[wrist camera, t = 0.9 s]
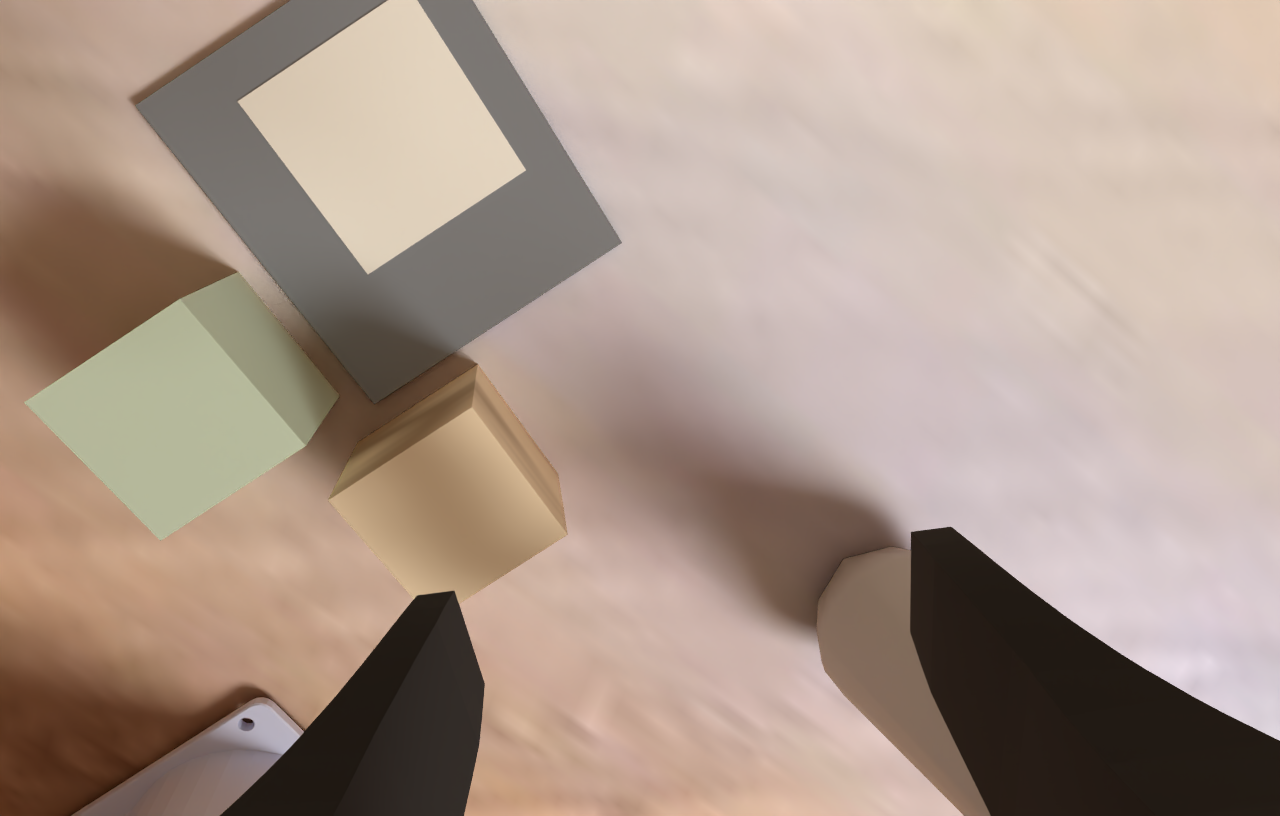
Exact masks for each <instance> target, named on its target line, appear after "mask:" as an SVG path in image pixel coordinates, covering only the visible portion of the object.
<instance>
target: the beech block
mask: <svg viewBox="0 0 1280 816" xmlns="http://www.w3.org/2000/svg"><path fill="white" fill-rule="evenodd" d="M328 501H329V502H330V503H331V505H332V506H333V507H334V508H335V509H336V510H337V511H338V513H339V514H340V515H341V516H342V517H343V518H344V519H345V521H346V522H347V523H348V524H349V525H350V526H351V528H352V529H353V530H354V531H355V532H356V533H357V534H358V536H359V537H360V538H361V539H362V540H363V541H364V542H365V544H366V545H367V546H368V547H369V548H370V549H371V551H372V552H373V553H374V554H375V555H376V556H377V557H378V559H379V560H380V561H381V562H382V563H383V564H384V565H385V567H386V568H387V569H388V570H389V571H390V572H391V574H392V575H393V576H394V577H395V578H396V579H397V580H398V582H399V583H400V584H401V585H402V586H403V587H404V588H405V590H406V591H407V592H408V593H409V594H410V595H411V597H412V598H413V599H415V597H416V596H417V595H423V594H431V593H439V592H447V591H455V594H456V597H457V600H458V603H459V604H460V603H461V602H463V601H464V600H466V599H468V598H469V597H471V596H472V595H474V594H475V593H477V592H479V591H480V590H482V589H483V588H485V587H486V586H488V585H489V584H491V583H493V582H494V581H496V580H497V579H499V578H500V577H502V576H504V575H505V574H507V573H508V572H510V571H511V570H513V569H515V568H516V567H518V566H519V565H521V564H522V563H524V562H525V561H527V560H529V559H530V558H532V557H533V556H535V555H536V554H538V553H540V552H541V551H543V550H544V549H546V548H547V547H549V546H551V545H552V544H554V543H555V542H557V541H558V540H560V539H561V538H563V537H565V536H566V535H568V534H567V527H566V521H565V515H564V508H563V502H562V496H561V489H560V483H559V476H558V473H557V472H556V471H555V469H554V468H553V466H552V465H551V464H550V462H549V461H548V460H547V458H546V457H545V456H544V454H543V453H542V451H541V450H540V449H539V447H538V446H537V445H536V443H535V442H534V440H533V439H532V438H531V436H530V435H529V434H528V432H527V431H526V430H525V428H524V427H523V425H522V424H521V423H520V421H519V420H518V419H517V417H516V416H515V414H514V413H513V412H512V410H511V409H510V408H509V406H508V405H507V404H506V402H505V401H504V399H503V398H502V397H501V395H500V394H499V393H498V391H497V390H496V388H495V387H494V386H493V384H492V383H491V382H490V380H489V379H488V378H487V376H486V375H485V373H484V372H483V371H482V369H481V368H480V367H479V365H478V364H477V365H476V366H474V367H473V368H471V369H470V370H468V371H467V372H465V373H463V374H462V375H460V376H459V377H457V378H456V379H454V380H453V381H451V382H450V383H448V384H447V385H445V386H443V387H442V388H440V389H439V390H437V391H436V392H434V393H433V394H431V395H430V396H428V397H427V398H425V399H423V400H422V401H420V402H419V403H417V404H416V405H414V406H413V407H411V408H410V409H408V410H407V411H405V412H404V413H402V414H400V415H399V416H397V417H396V418H394V419H393V420H391V421H390V422H388V423H387V424H385V425H384V426H382V427H380V428H379V429H377V430H376V431H374V432H373V433H371V434H370V435H368V436H367V437H365V438H364V439H362V440H360V441H359V442H357V444H356V446H355V448H354V450H353V452H352V454H351V456H350V458H349V460H348V462H347V464H346V466H345V468H344V470H343V472H342V474H341V476H340V478H339V480H338V482H337V484H336V486H335V488H334V490H333V492H332V494H331V495H330V497H329V499H328Z"/></svg>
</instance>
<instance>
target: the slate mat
mask: <svg viewBox="0 0 1280 816" xmlns="http://www.w3.org/2000/svg"><path fill="white" fill-rule="evenodd" d="M135 106H136V107H137V109H138V110H139V111H140V112H141V114H142V115H143V116H144V117H145V119H146V120H147V121H148V122H149V124H150V125H151V126H152V127H153V129H154V130H155V131H156V132H157V134H158V135H159V136H160V137H161V139H162V140H163V141H164V142H165V144H166V145H167V146H168V147H169V149H170V150H171V151H172V152H173V154H174V155H175V156H176V157H177V159H178V160H179V161H180V162H181V164H182V165H183V166H184V167H185V169H186V170H187V171H188V172H189V174H190V175H191V176H192V177H193V179H194V180H195V181H196V182H197V184H198V185H199V186H200V187H201V189H202V190H203V191H204V192H205V194H206V195H207V196H208V197H209V199H210V200H211V201H212V202H213V204H214V205H215V206H216V207H217V209H218V210H219V211H220V212H221V214H222V215H223V216H224V217H225V219H226V220H227V221H228V222H229V224H230V225H231V226H232V227H233V229H234V230H235V231H236V232H237V233H238V235H239V236H240V237H241V238H242V240H243V241H244V242H245V243H246V245H247V246H248V247H249V248H250V250H251V251H252V252H253V253H254V255H255V256H256V257H257V258H258V260H259V261H260V262H261V263H262V265H263V266H264V267H265V268H266V270H267V271H268V272H269V273H270V275H271V276H272V277H273V278H274V280H275V281H276V282H277V283H278V285H279V286H280V287H281V288H282V290H283V291H284V292H285V293H286V295H287V296H288V297H289V298H290V300H291V301H292V302H293V303H294V305H295V306H296V307H297V308H298V310H299V311H300V312H301V313H302V315H303V316H304V317H305V318H306V320H307V321H308V322H309V323H310V325H311V326H312V327H313V328H314V330H315V331H316V332H317V333H318V335H319V336H320V337H321V338H322V340H323V341H324V342H325V343H326V345H327V346H328V347H329V348H330V350H331V351H332V352H333V353H334V355H335V356H336V357H337V358H338V360H339V361H340V362H341V363H342V365H343V366H344V367H345V368H346V370H347V371H348V372H349V373H350V375H351V376H352V377H353V378H354V380H355V381H356V382H357V383H358V385H359V386H360V387H361V388H362V390H363V391H364V392H365V393H366V395H367V396H368V397H369V398H370V400H371V401H372V402H373V403H374V404H375V403H377V402H379V401H380V400H382V399H383V398H385V397H386V396H388V395H389V394H391V393H392V392H394V391H395V390H397V389H398V388H400V387H402V386H403V385H405V384H406V383H408V382H409V381H411V380H412V379H414V378H415V377H417V376H418V375H420V374H421V373H423V372H425V371H426V370H428V369H429V368H431V367H432V366H434V365H435V364H437V363H438V362H440V361H441V360H443V359H444V358H446V357H448V356H449V355H451V354H452V353H454V352H455V351H457V350H458V349H460V348H461V347H463V346H464V345H466V344H467V343H469V342H471V341H472V340H474V339H475V338H477V337H478V336H480V335H481V334H483V333H484V332H486V331H487V330H489V329H490V328H492V327H494V326H495V325H497V324H498V323H500V322H501V321H503V320H504V319H506V318H507V317H509V316H510V315H512V314H513V313H515V312H517V311H518V310H520V309H521V308H523V307H524V306H526V305H527V304H529V303H530V302H532V301H533V300H535V299H536V298H538V297H539V296H541V295H543V294H544V293H546V292H547V291H549V290H550V289H552V288H553V287H555V286H556V285H558V284H559V283H561V282H562V281H564V280H566V279H567V278H569V277H570V276H572V275H573V274H575V273H576V272H578V271H579V270H581V269H582V268H584V267H585V266H587V265H589V264H590V263H592V262H593V261H595V260H596V259H598V258H599V257H601V256H602V255H604V254H605V253H607V252H608V251H610V250H612V249H613V248H615V247H616V246H618V245H619V244H621V243H622V242H621V240H620V239H619V237H618V235H617V234H616V232H615V231H614V229H613V227H612V226H611V224H610V223H609V221H608V219H607V218H606V216H605V214H604V213H603V211H602V210H601V208H600V206H599V205H598V203H597V201H596V200H595V198H594V197H593V195H592V193H591V192H590V190H589V188H588V187H587V185H586V184H585V182H584V180H583V179H582V177H581V175H580V174H579V172H578V171H577V169H576V167H575V166H574V164H573V163H572V161H571V159H570V158H569V156H568V154H567V153H566V151H565V150H564V148H563V146H562V145H561V143H560V141H559V140H558V138H557V137H556V135H555V133H554V132H553V130H552V128H551V127H550V125H549V124H548V122H547V120H546V119H545V117H544V115H543V114H542V112H541V111H540V109H539V107H538V106H537V104H536V103H535V101H534V99H533V98H532V96H531V94H530V93H529V91H528V90H527V88H526V86H525V85H524V83H523V81H522V80H521V78H520V77H519V75H518V73H517V72H516V70H515V68H514V67H513V65H512V64H511V62H510V60H509V59H508V57H507V55H506V54H505V52H504V51H503V49H502V47H501V46H500V44H499V43H498V41H497V39H496V38H495V36H494V34H493V33H492V31H491V30H490V28H489V26H488V25H487V23H486V21H485V20H484V18H483V17H482V15H481V13H480V12H479V10H478V8H477V7H476V5H475V4H474V2H473V0H290V1H289V2H287V3H286V4H284V5H283V6H282V7H280V8H279V9H277V10H276V11H274V12H273V13H271V14H270V15H268V16H267V17H265V18H264V19H262V20H261V21H259V22H258V23H256V24H255V25H253V26H252V27H250V28H249V29H248V30H246V31H245V32H243V33H242V34H240V35H239V36H237V37H236V38H234V39H233V40H231V41H230V42H228V43H227V44H225V45H224V46H222V47H221V48H219V49H218V50H217V51H215V52H214V53H212V54H211V55H209V56H208V57H206V58H205V59H203V60H202V61H200V62H199V63H197V64H196V65H194V66H193V67H191V68H190V69H188V70H187V71H185V72H184V73H183V74H181V75H180V76H178V77H177V78H175V79H174V80H172V81H171V82H169V83H168V84H166V85H165V86H163V87H162V88H160V89H159V90H157V91H156V92H154V93H153V94H151V95H150V96H149V97H147V98H146V99H144V100H143V101H141V102H140V103H138V104H137V105H135Z"/></svg>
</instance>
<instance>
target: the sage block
mask: <svg viewBox="0 0 1280 816" xmlns="http://www.w3.org/2000/svg"><path fill="white" fill-rule="evenodd" d="M339 396H340V395H339V394H338V393H337V392H336V391H335V389H334V388H333V387H332V386H331V384H330V383H329V382H328V381H327V380H326V378H325V377H324V376H323V375H322V373H321V372H320V371H319V370H318V369H317V367H316V366H315V365H314V364H313V362H312V361H311V360H310V359H309V358H308V356H307V355H306V354H305V353H304V351H303V350H302V349H301V348H300V346H299V345H298V344H297V343H296V342H295V340H294V339H293V338H292V337H291V335H290V334H289V333H288V332H287V331H286V329H285V328H284V327H283V326H282V324H281V323H280V322H279V321H278V320H277V318H276V317H275V316H274V315H273V313H272V312H271V311H270V310H269V308H268V307H267V306H266V305H265V304H264V302H263V301H262V300H261V299H260V297H259V296H258V295H257V294H256V293H255V291H254V290H253V289H252V288H251V286H250V285H249V284H248V283H247V282H246V280H245V279H244V278H243V277H242V275H241V274H240V273H239V272H237V273H234V274H232V275H230V276H228V277H226V278H224V279H222V280H219V281H217V282H215V283H213V284H211V285H209V286H206V287H204V288H202V289H200V290H198V291H196V292H193V293H191V294H189V295H187V296H185V297H183V298H180V299H179V300H177V301H176V302H174V303H173V304H171V305H170V306H168V307H167V308H165V309H164V310H162V311H161V312H159V313H158V314H156V315H155V316H153V317H152V318H150V319H149V320H147V321H146V322H144V323H143V324H141V325H140V326H138V327H137V328H135V329H134V330H132V331H131V332H129V333H128V334H126V335H125V336H123V337H122V338H120V339H119V340H117V341H116V342H114V343H113V344H111V345H110V346H108V347H107V348H105V349H104V350H102V351H101V352H99V353H98V354H96V355H95V356H93V357H92V358H90V359H89V360H87V361H86V362H84V363H82V364H81V365H79V366H78V367H76V368H75V369H73V370H72V371H70V372H69V373H67V374H66V375H64V376H63V377H61V378H60V379H58V380H57V381H55V382H54V383H52V384H51V385H49V386H48V387H46V388H45V389H43V390H42V391H40V392H39V393H37V394H36V395H34V396H33V397H31V398H30V399H28V400H27V401H25V402H24V403H25V404H26V405H27V406H28V407H29V408H30V409H31V410H32V411H33V412H34V413H35V414H36V415H37V416H38V417H39V418H40V419H41V420H42V421H43V422H44V423H45V424H46V425H47V426H48V427H49V428H50V429H51V430H52V431H53V432H54V433H55V434H56V435H57V436H58V437H59V438H60V439H61V440H62V441H63V442H64V443H65V444H66V445H67V446H68V447H69V448H70V449H71V451H72V452H73V453H74V454H75V455H76V456H77V457H78V458H79V459H80V460H81V461H82V462H83V463H84V464H85V465H86V466H87V467H88V468H89V469H90V470H91V471H92V472H93V473H94V474H95V475H96V476H97V477H98V478H99V479H100V480H101V481H102V482H103V483H104V484H105V485H106V486H107V487H108V488H109V489H110V490H111V491H112V492H113V493H114V494H115V495H116V496H117V497H118V498H119V499H120V500H121V501H122V502H123V503H124V504H125V505H126V506H127V507H128V508H129V509H130V510H131V511H132V512H133V513H134V514H135V515H136V516H137V517H138V518H139V519H140V520H141V521H142V522H143V523H144V524H145V525H146V526H147V528H148V529H149V530H150V531H151V532H152V533H153V534H154V535H155V536H156V537H157V538H158V539H159V540H160V541H161V540H163V539H164V538H166V537H167V536H169V535H170V534H172V533H173V532H175V531H176V530H178V529H180V528H181V527H183V526H184V525H186V524H187V523H189V522H190V521H192V520H193V519H195V518H196V517H198V516H199V515H201V514H202V513H204V512H206V511H207V510H209V509H210V508H212V507H213V506H215V505H216V504H218V503H219V502H221V501H222V500H224V499H225V498H227V497H229V496H230V495H232V494H233V493H235V492H236V491H238V490H239V489H241V488H242V487H244V486H245V485H247V484H248V483H250V482H252V481H253V480H255V479H256V478H258V477H259V476H261V475H262V474H264V473H265V472H267V471H268V470H270V469H271V468H273V467H275V466H276V465H278V464H279V463H281V462H282V461H284V460H285V459H287V458H288V457H290V456H291V455H293V454H294V453H296V452H297V451H299V450H301V449H302V448H304V447H305V446H306V445H307V444H308V442H309V441H310V439H311V438H312V436H313V435H314V433H315V432H316V430H317V429H318V427H319V426H320V424H321V423H322V421H323V420H324V418H325V417H326V415H327V414H328V412H329V411H330V409H331V408H332V406H333V405H334V404H335V402H336V401H337V399H338V398H339Z"/></svg>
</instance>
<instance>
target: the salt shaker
mask: <svg viewBox="0 0 1280 816" xmlns="http://www.w3.org/2000/svg"><path fill="white" fill-rule="evenodd" d="M910 590H911V550H907V549H901V548H896V547H887V548H883V549H880V550H876V551H872V552H868V553H864V554H860V555H857V556H853V557H849V558H845V559H843V560H842V562H841V564H840V565H839V567H838V569H837V570H836V572H835V574H834V575H833V577H832V578H831V580H830V582H829V583H828V585H827V587H826V588H825V590H824V592H823V593H822V595H821V597H820V598H819V600H818V614H817V636H818V642H819V648H820V654H821V660H822V663H823V666H824V670H825V672H826V673H827V674H828V676H829V677H830V678H831V679H832V681H833V682H834V683H835V684H836V686H837V687H838V688H839V689H840V691H841V692H842V693H843V695H844V696H845V697H846V698H847V699H848V700H849V701H850V702H851V703H852V704H853V705H854V706H855V707H856V708H857V709H858V710H859V711H860V712H861V713H862V714H863V715H864V716H865V717H866V718H867V719H868V720H869V721H870V722H871V723H872V724H873V725H874V726H875V727H876V728H877V729H878V730H879V731H880V732H881V733H882V734H883V735H884V736H885V737H886V738H887V739H888V740H889V741H890V742H891V743H892V744H893V745H894V746H895V747H896V748H897V749H898V750H899V751H900V752H901V753H902V754H903V755H904V756H905V757H906V758H907V759H908V760H909V761H910V762H911V763H912V764H913V765H914V766H915V767H916V768H917V769H918V770H919V771H920V772H921V773H922V774H923V775H924V776H925V777H926V778H927V779H928V780H929V781H930V782H931V783H932V784H933V785H934V786H935V787H936V788H937V789H938V790H939V791H940V792H941V793H942V794H943V795H944V796H945V797H946V798H947V799H948V800H949V801H950V802H951V803H952V804H953V805H954V806H955V807H956V808H957V809H958V810H959V811H960V812H961V813H962V814H963V815H964V816H991V815H990V813H989V811H988V809H987V807H986V805H985V803H984V801H983V799H982V797H981V795H980V793H979V791H978V789H977V787H976V785H975V783H974V781H973V779H972V777H971V774H970V772H969V770H968V768H967V766H966V764H965V762H964V760H963V758H962V756H961V754H960V752H959V750H958V748H957V746H956V744H955V742H954V740H953V738H952V736H951V734H950V732H949V729H948V727H947V725H946V723H945V721H944V719H943V717H942V715H941V713H940V711H939V709H938V707H937V705H936V702H935V700H934V698H933V696H932V694H931V692H930V689H929V686H928V683H927V680H926V678H925V675H924V672H923V669H922V666H921V663H920V660H919V657H918V654H917V651H916V648H915V645H914V642H913V639H912V636H911V633H910Z"/></svg>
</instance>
